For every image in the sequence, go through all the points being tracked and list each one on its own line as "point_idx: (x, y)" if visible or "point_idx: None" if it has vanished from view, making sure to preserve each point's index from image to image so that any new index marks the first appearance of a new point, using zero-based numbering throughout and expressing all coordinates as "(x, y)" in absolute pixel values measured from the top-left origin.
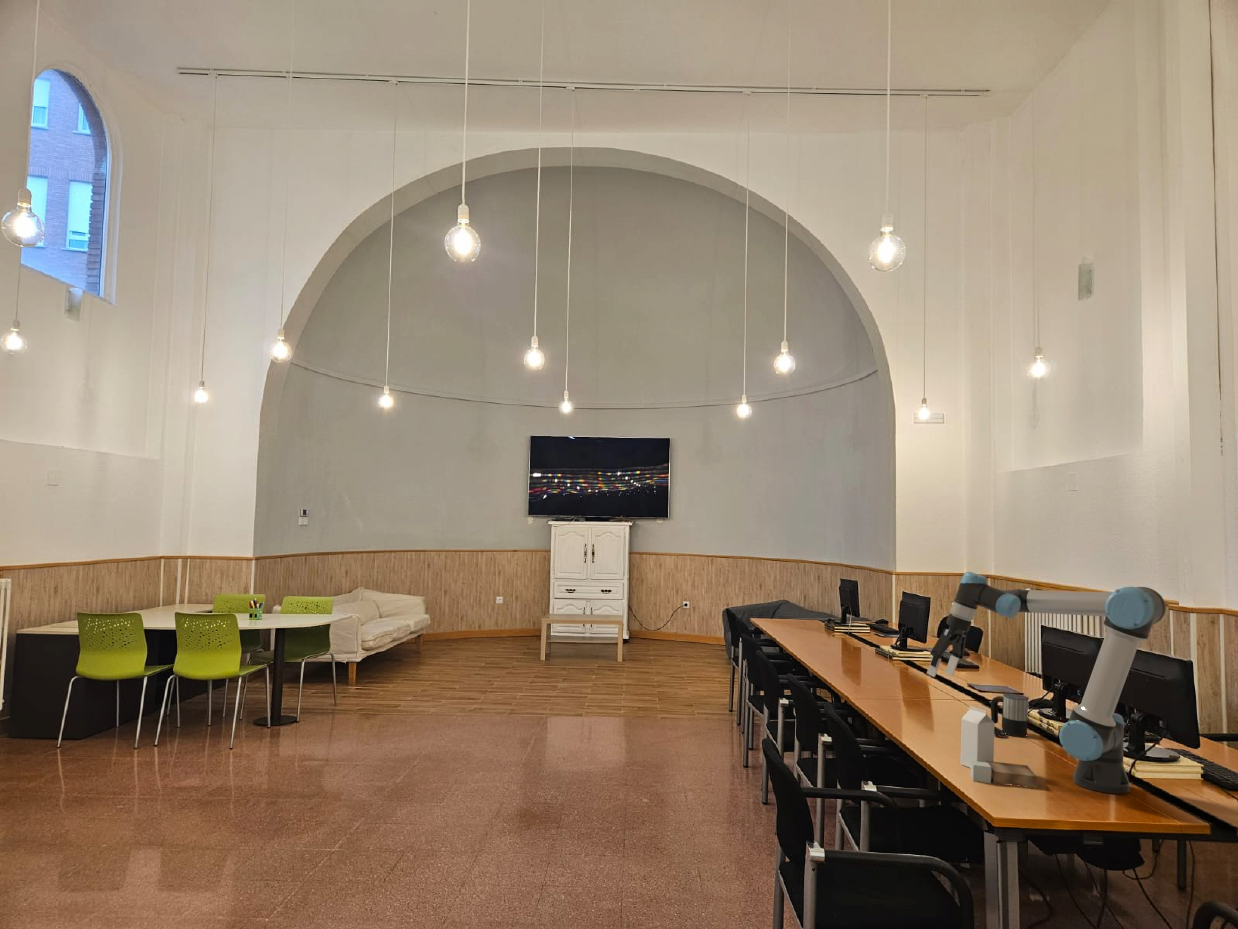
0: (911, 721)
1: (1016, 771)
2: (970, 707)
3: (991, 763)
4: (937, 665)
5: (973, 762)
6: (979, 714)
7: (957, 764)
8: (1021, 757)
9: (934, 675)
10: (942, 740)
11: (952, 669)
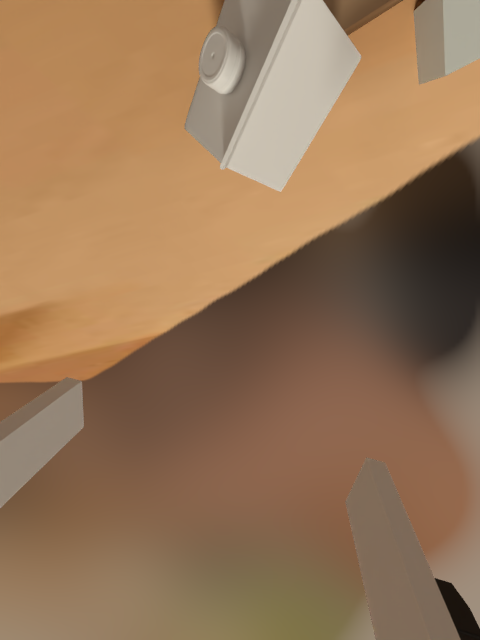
0: (28, 348)
1: None
2: (228, 161)
3: (355, 2)
4: (439, 598)
5: (476, 51)
6: (290, 65)
7: None
8: (6, 13)
9: (388, 475)
10: (91, 272)
11: (39, 424)
